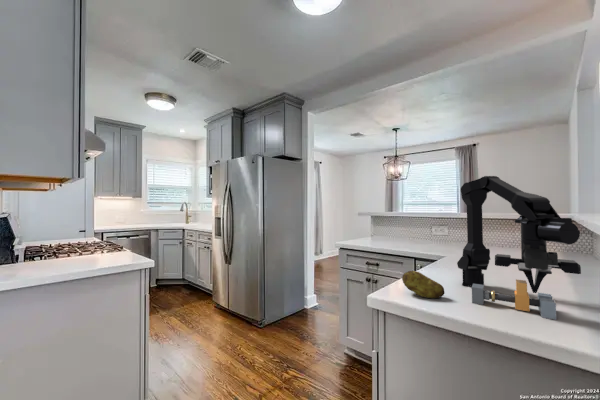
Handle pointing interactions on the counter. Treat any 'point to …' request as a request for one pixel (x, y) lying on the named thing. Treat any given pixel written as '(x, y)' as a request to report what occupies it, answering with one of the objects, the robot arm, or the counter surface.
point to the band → (493, 296)
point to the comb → (547, 306)
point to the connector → (479, 294)
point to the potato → (422, 285)
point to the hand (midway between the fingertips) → (534, 292)
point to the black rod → (512, 299)
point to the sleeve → (521, 296)
